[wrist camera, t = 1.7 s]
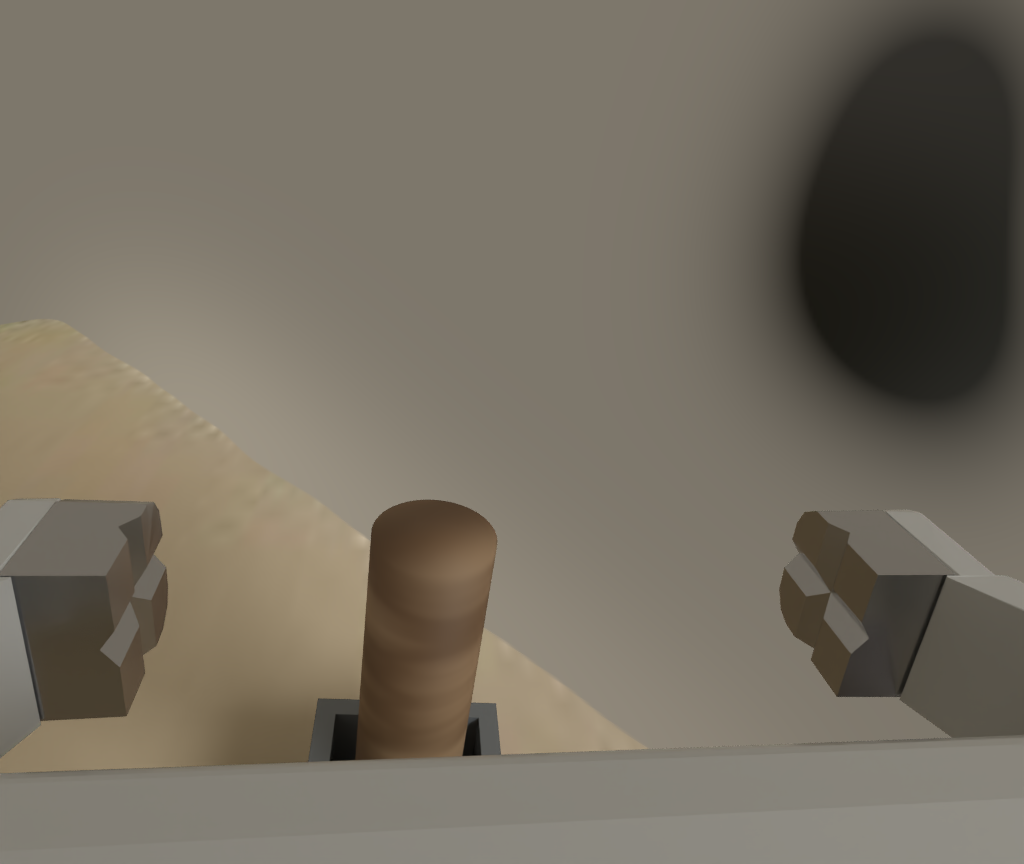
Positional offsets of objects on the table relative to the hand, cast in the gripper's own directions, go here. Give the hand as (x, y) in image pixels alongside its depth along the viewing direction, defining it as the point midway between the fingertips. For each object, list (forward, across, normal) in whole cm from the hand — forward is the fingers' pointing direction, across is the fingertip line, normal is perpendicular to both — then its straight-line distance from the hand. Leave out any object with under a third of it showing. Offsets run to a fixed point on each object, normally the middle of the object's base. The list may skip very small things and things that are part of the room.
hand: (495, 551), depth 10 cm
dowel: (+14, 0, +24) cm, 28 cm away
